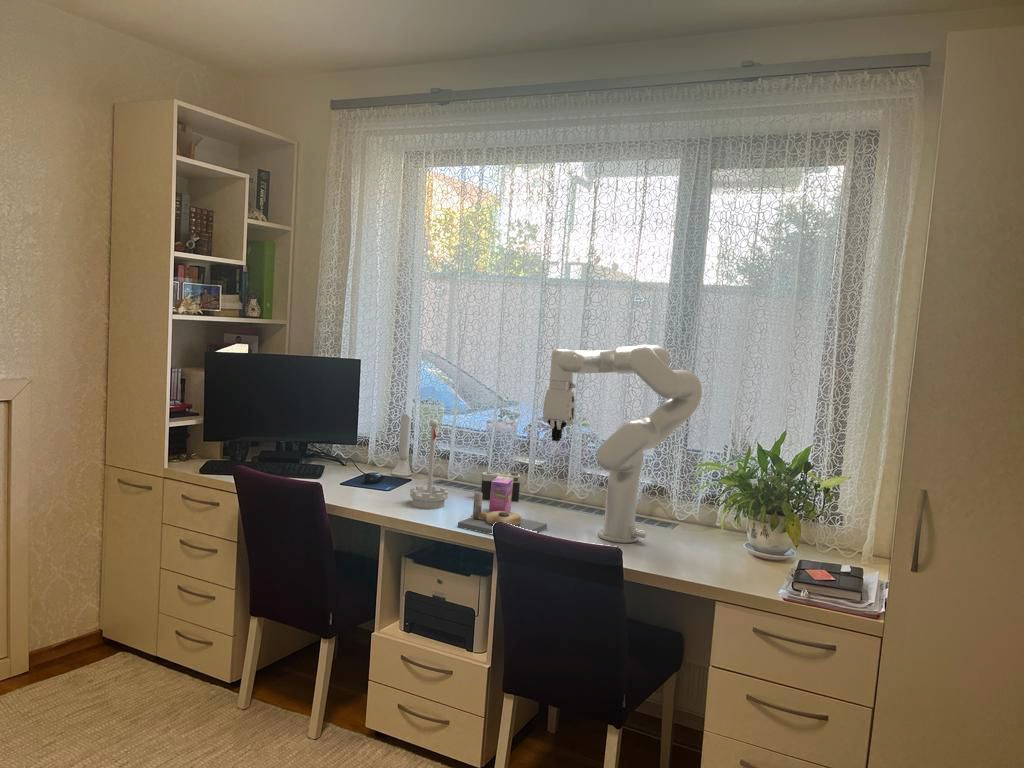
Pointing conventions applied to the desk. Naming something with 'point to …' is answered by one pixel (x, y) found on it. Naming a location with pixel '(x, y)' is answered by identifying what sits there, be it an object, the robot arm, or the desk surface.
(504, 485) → the box
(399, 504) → the desk surface
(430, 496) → the flag stand
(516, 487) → the camera
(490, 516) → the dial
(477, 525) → the board
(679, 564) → the desk surface
